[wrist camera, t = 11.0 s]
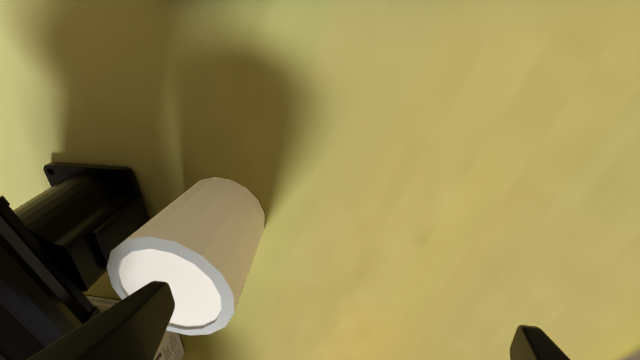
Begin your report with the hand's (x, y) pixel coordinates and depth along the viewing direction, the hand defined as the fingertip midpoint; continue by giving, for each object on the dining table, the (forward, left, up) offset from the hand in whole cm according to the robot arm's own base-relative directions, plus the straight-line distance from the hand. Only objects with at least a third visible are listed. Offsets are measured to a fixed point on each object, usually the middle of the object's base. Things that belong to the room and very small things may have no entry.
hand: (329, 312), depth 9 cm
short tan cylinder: (-9, -6, -12) cm, 16 cm away
